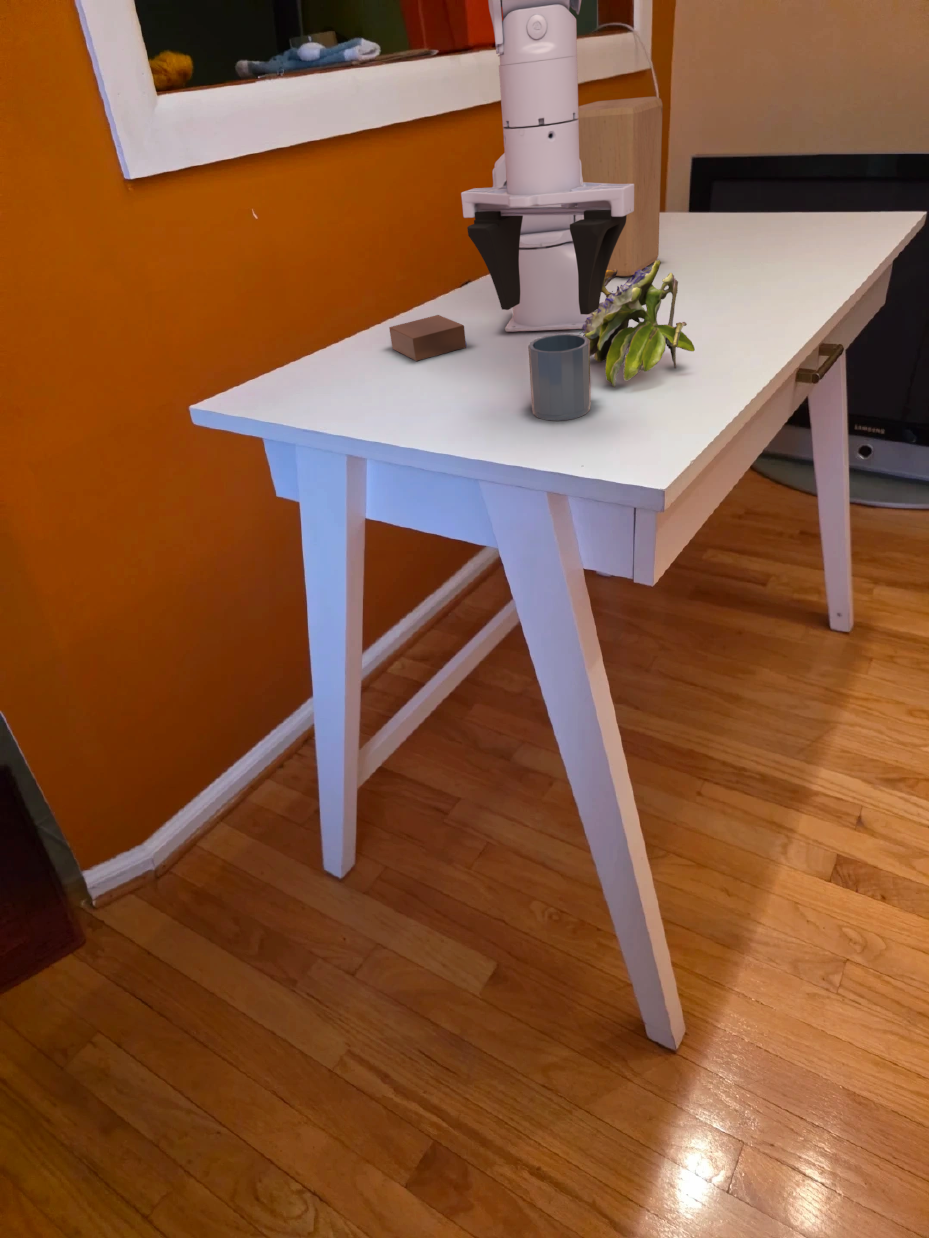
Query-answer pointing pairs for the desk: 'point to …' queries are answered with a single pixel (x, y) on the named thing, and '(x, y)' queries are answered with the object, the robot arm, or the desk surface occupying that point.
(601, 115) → the wooden block
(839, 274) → the desk surface
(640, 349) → the passion flower
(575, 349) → the cup
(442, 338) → the block
